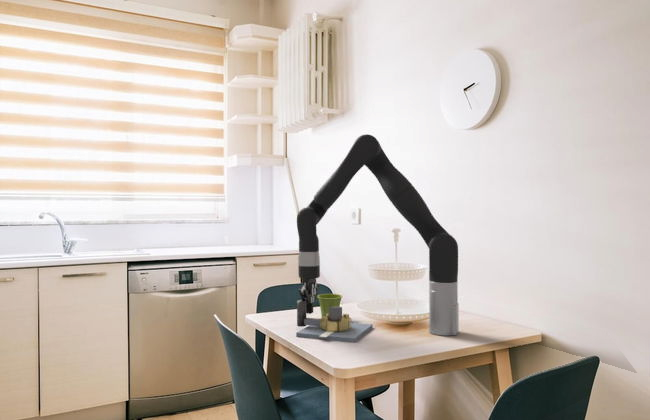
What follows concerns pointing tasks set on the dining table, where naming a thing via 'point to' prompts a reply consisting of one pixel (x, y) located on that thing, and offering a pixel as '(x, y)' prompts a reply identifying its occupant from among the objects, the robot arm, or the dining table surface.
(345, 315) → the ring with upright handle
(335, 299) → the plant pot
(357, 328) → the hub board
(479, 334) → the dining table surface
